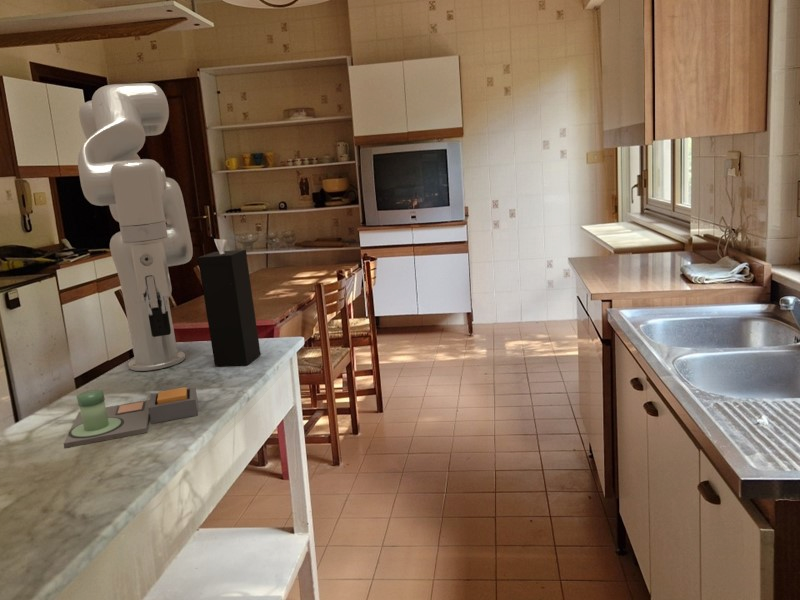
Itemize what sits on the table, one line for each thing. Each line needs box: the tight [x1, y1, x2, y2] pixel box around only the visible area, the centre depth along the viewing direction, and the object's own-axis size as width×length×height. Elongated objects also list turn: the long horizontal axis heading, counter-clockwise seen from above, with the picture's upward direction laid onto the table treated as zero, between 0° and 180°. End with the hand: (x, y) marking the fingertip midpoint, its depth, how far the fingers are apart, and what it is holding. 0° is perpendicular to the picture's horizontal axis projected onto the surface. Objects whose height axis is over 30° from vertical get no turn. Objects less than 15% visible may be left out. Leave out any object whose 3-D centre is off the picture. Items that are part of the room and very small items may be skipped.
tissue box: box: [197, 238, 261, 367], centre depth 153 cm, size 8×8×28 cm
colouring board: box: [63, 399, 150, 449], centre depth 123 cm, size 16×13×1 cm
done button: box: [157, 386, 188, 404], centre depth 125 cm, size 5×5×2 cm
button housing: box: [148, 386, 199, 425], centre depth 125 cm, size 8×8×3 cm
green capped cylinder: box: [76, 389, 109, 431], centre depth 119 cm, size 4×4×6 cm
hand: (161, 334), depth 123 cm, fingers closed
